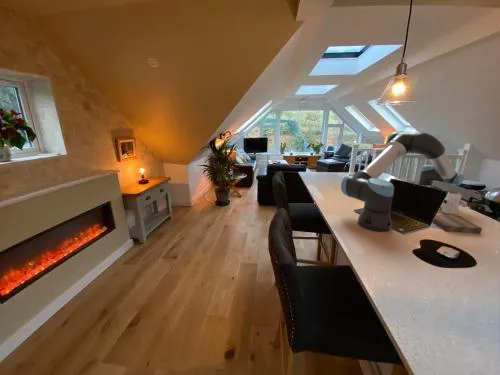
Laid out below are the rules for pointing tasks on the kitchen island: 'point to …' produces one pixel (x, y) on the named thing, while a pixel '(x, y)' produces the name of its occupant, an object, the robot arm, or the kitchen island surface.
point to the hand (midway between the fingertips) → (458, 204)
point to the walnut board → (456, 224)
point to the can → (455, 198)
